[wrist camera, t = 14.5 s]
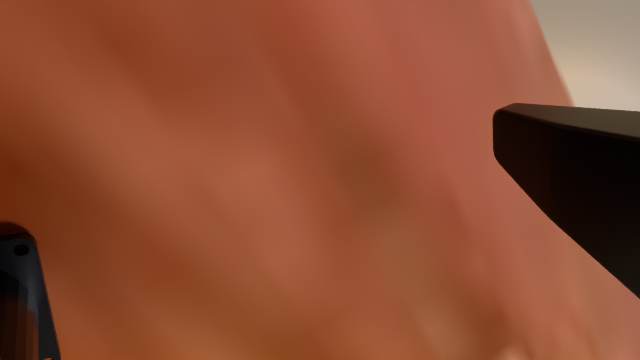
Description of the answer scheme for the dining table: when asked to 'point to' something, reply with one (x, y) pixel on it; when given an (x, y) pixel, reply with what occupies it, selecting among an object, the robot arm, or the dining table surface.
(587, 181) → the robot arm
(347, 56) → the dining table surface
